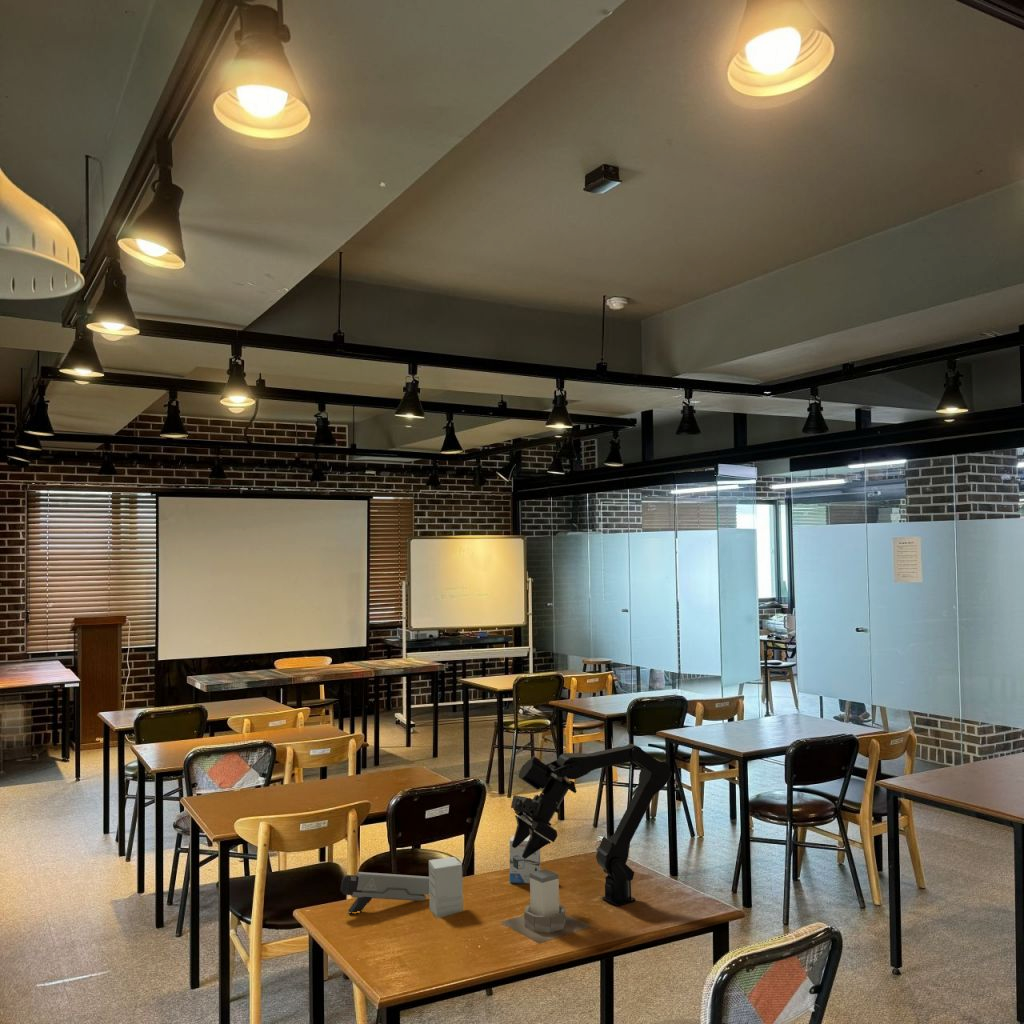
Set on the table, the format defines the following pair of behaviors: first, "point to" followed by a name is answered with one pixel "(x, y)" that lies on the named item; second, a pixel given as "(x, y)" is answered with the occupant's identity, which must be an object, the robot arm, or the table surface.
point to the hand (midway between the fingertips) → (518, 852)
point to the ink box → (522, 863)
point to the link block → (544, 893)
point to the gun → (383, 888)
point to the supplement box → (445, 886)
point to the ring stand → (545, 925)
